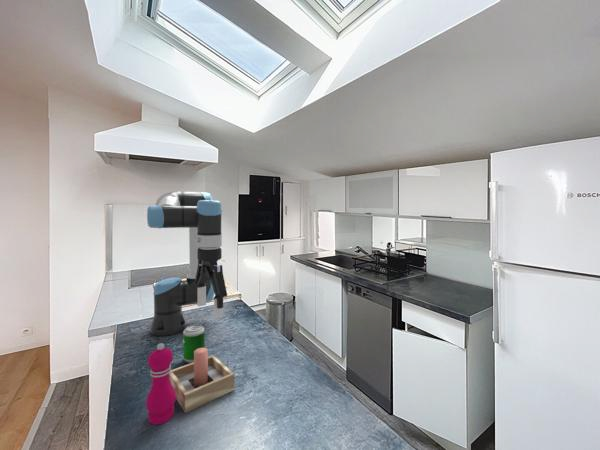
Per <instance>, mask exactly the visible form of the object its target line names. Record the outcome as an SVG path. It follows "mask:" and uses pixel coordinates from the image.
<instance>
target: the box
mask: <svg viewBox="0 0 600 450" xmlns="http://www.w3.org/2000/svg"><path fill="white" fill-rule="evenodd" d="M169 379H170V382H171V384H172V386H173V388H174V390H175V393H176V400H175V401H176V402H177V403H178V404H179V406H180V407H181V408H182V410H183V412H184V413H188V412H191V411H192V410H195V409H197V408H200V407H201V406H203V405H205V404H207V403H209V402H212V401H214V400H216V399H218V398H219V397H222V396H224V395H226V394H228V393H230V392H233V391H234V390H235V373H234V372H233V371H232V370H230V368H228V366H226V365H225V364H224V363H223V361H220V360H219V359H218V358H217V357H216V356H215V355H213V354H212V355H210V356H209V355H208V383H207V384H205V385H203V386H200V387H198V388H196V389H195V388H194V362H193V363H188V364H185V365H183V366H182V365H181V366H180V367H179V366H178V367H176V368H173V369H171V371H170V373H169Z"/></svg>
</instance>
